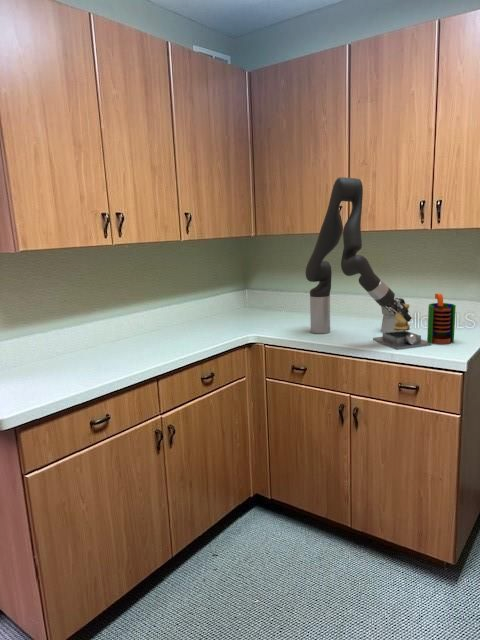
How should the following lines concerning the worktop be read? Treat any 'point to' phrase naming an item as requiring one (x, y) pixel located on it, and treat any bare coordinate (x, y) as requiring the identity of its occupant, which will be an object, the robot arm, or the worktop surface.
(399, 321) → the gold tall waisted piece
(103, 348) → the worktop surface
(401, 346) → the coupling base
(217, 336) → the worktop surface
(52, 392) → the worktop surface
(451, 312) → the motor
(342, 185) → the robot arm
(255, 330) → the worktop surface
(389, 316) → the coffee maker
